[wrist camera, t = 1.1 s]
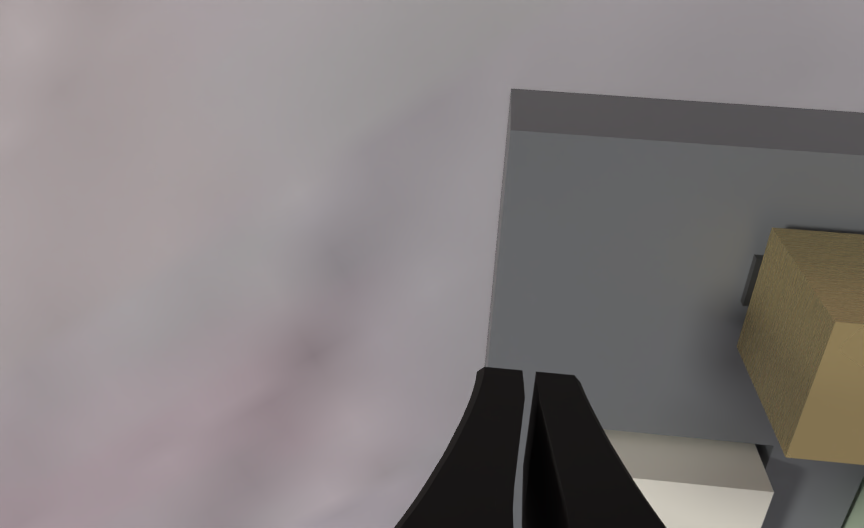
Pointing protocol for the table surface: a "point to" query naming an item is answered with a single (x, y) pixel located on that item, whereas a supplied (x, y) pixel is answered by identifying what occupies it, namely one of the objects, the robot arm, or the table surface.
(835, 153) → the control panel
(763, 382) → the brass slider
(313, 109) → the table surface
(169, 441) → the table surface
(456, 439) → the robot arm
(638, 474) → the ivory button
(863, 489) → the sage button
